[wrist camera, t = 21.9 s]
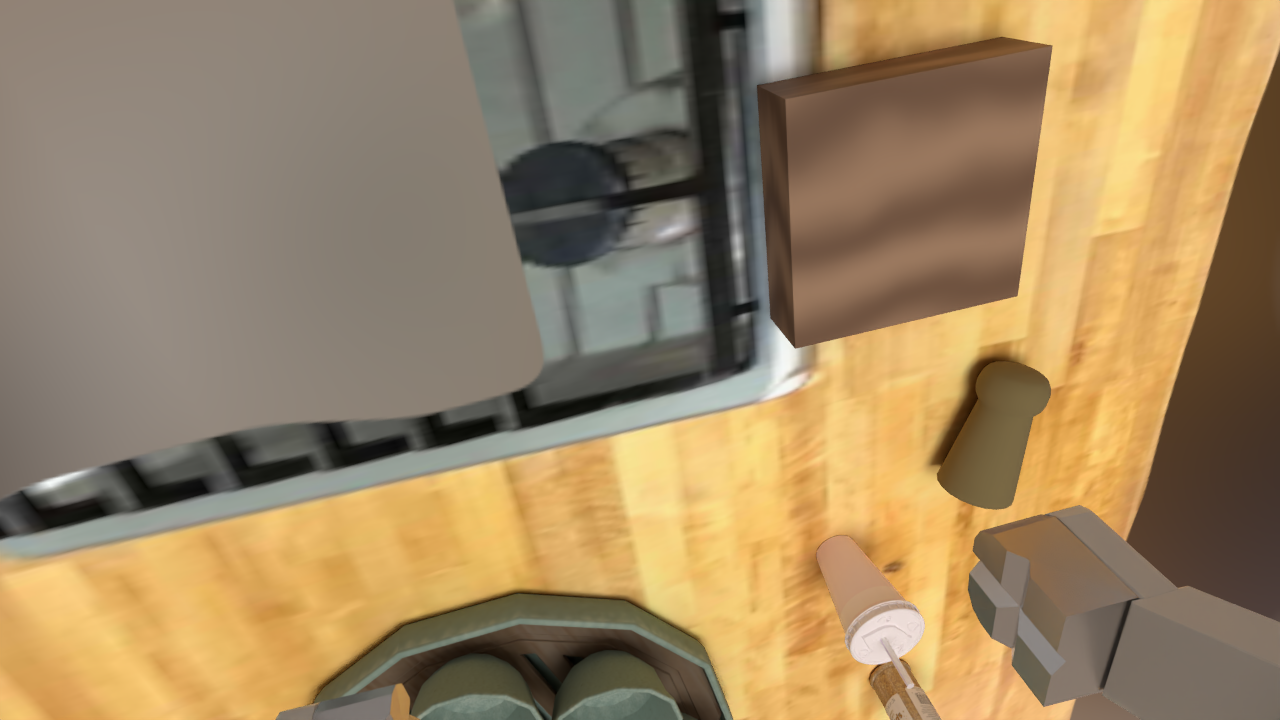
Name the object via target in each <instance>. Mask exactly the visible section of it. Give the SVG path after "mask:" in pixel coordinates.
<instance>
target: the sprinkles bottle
mask: <svg viewBox="0 0 1280 720" xmlns="http://www.w3.org/2000/svg"><path fill="white" fill-rule="evenodd" d="M900 661H901V660H900ZM901 663H902V665H903V666H904V668H905V670H906V671H907V673H908V675H909V676H910V678H911V680H912V681H913V683H914V687H912V688H910V689H909V688H907V686H906V684H905V683H904V681H903V679H902V678H901V676H900V674H899V673H898V671H897V669H896V667H895V666H894V664H893V662H892V661H890V662H887V663H884V664H882V665H880V666H879V667H877V668H876V669H875V670H874V672H873V673H872V674H871V678H870V685H871V686H872V688H873V689H874V690H875V691H876V693H877V695H878V697H879V699H880V700H881V702H882V704H883V706H884V707H885V710H886V712H887V714H888V716H889V718H890V720H941V718H940V716H939V715H938V713H937V712H936V710H935V708H934V707H933V705H932V703H931V702H930V700H929V699H928V697H927V695H926V694H925V692H924V691H923V689H921V687H920V686H919V684H918V682H917V681H916V679H915V677H914V675H913V674H912V672H911V669H910V667H909V665H908V664H907V663H906V662H904V661H901Z"/></svg>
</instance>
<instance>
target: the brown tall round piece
mask: <svg viewBox="0 0 1280 720" xmlns="http://www.w3.org/2000/svg"><path fill="white" fill-rule="evenodd" d="M976 393H977V396H978V400H977V402H976V404H975V406H974V407H973V409H972V411H971V413H970V415H969V417H968V418H967V420H966V422H965V424H964V426H963V428H962V429H961V431H960V433H959V435H958V437H957V438H956V440H955V442H954V444H953V446H952V448H951V449H950V451H949V453H948V455H947V457H946V459H945V460H944V462H943V464H942V466H941V468H940V469H939V471H938V473H937V479H938V481H939V483H940V485H941V486H942V487H943V488H944V489H945V490H946V491H947V492H948V493H950V494H951V495H953V496H954V497H956V498H958V499H959V500H961V501H964V502H966V503H968V504H971V505H974V506H977V507H981V508H985V509H996V510H997V509H1004V508H1007V507H1009V506H1010V505H1012V502H1013V500H1014V496H1015V492H1016V487H1017V483H1018V479H1019V475H1020V470H1021V466H1022V462H1023V458H1024V454H1025V449H1026V445H1027V441H1028V437H1029V432H1030V428H1031V424H1032V420H1033V417H1034V416H1036V415H1037V414H1039V413H1041V412H1042V411H1043V409H1044V408H1045V407H1046V405H1047V403H1048V400H1049V398H1050V395H1051V387H1050V384H1049V381H1048V379H1047V378H1046V377H1045V376H1044V375H1042V374H1041V373H1040V372H1038V371H1037V370H1035V369H1033V368H1031V367H1028V366H1026V365H1022V364H1019V363H1015V362H1009V361H997V362H992V363H990V364H988V365H987V366H986V367H984V369H983V370H982V371H981V373H980V374H979V376H978V378H977V381H976Z"/></svg>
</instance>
